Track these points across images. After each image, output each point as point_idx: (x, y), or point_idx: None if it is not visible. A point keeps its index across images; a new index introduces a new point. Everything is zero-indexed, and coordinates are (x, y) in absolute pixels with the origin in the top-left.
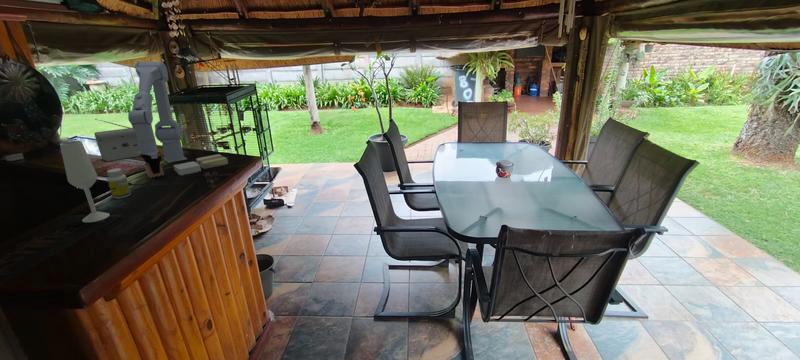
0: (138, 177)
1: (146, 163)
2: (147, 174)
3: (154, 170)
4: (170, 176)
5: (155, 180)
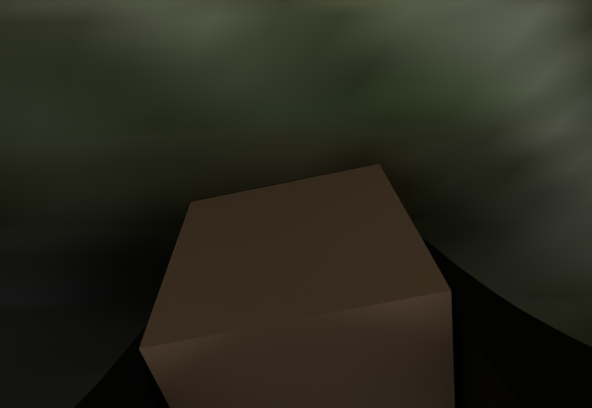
0: (324, 43)
1: (415, 331)
2: (335, 182)
3: None
4: None
5: (33, 261)
